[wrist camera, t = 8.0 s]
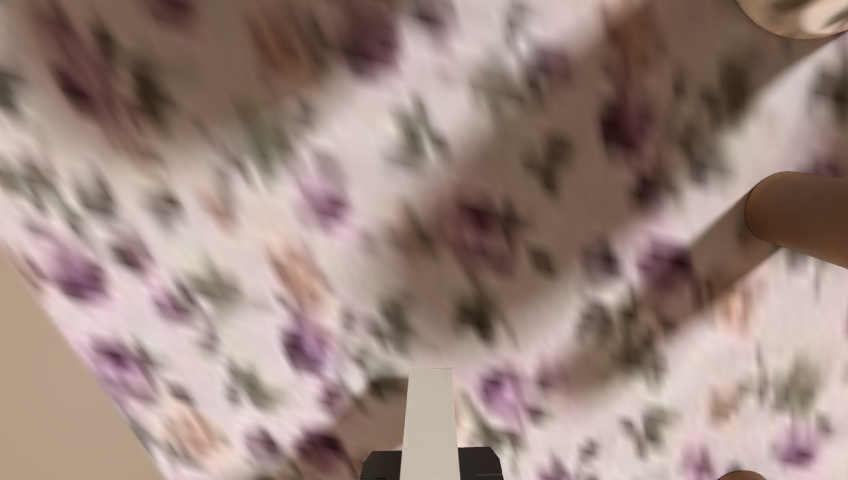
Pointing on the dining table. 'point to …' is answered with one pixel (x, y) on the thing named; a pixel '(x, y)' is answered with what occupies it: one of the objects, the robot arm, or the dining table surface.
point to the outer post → (743, 476)
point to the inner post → (802, 214)
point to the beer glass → (798, 17)
